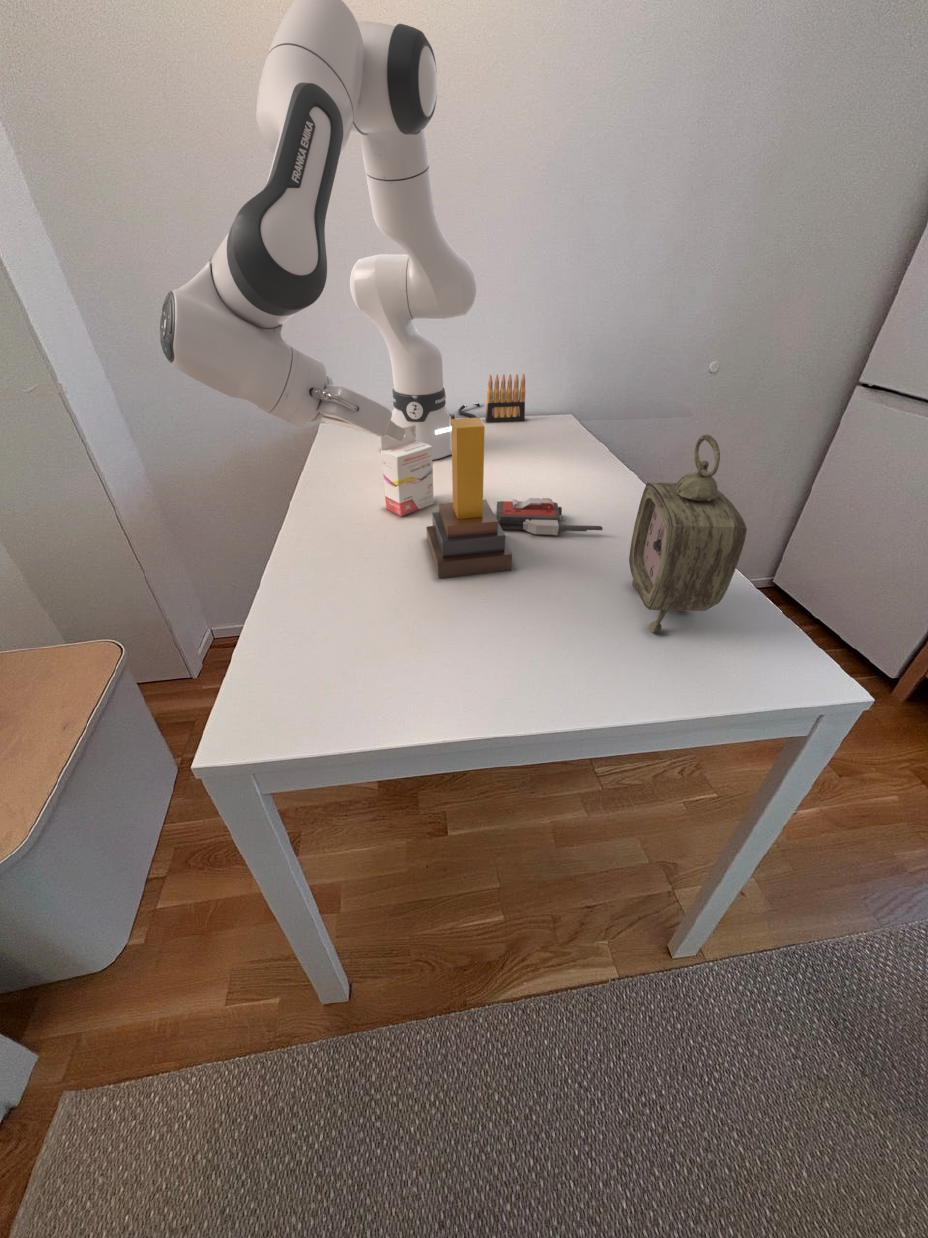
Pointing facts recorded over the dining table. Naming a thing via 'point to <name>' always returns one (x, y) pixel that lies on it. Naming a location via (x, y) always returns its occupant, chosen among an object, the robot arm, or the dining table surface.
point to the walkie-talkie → (535, 517)
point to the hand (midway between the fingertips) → (386, 431)
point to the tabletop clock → (685, 542)
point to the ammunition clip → (505, 400)
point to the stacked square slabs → (467, 543)
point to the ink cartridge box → (407, 473)
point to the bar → (467, 467)
